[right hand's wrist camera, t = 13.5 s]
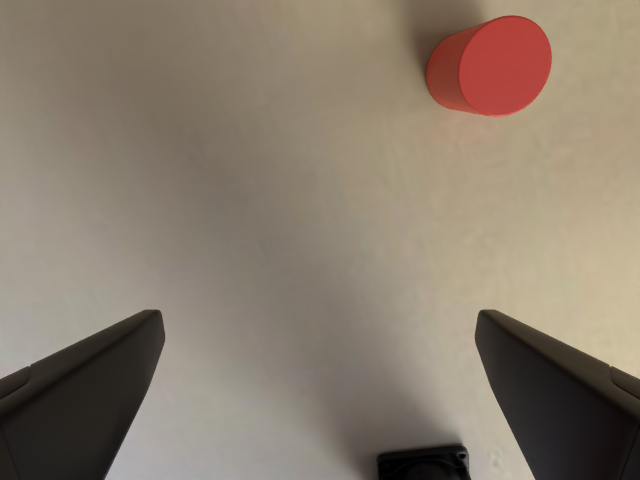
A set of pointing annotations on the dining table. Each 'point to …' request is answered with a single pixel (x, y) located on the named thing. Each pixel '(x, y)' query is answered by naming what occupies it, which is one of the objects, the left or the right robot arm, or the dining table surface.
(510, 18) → the can
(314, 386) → the dining table surface
